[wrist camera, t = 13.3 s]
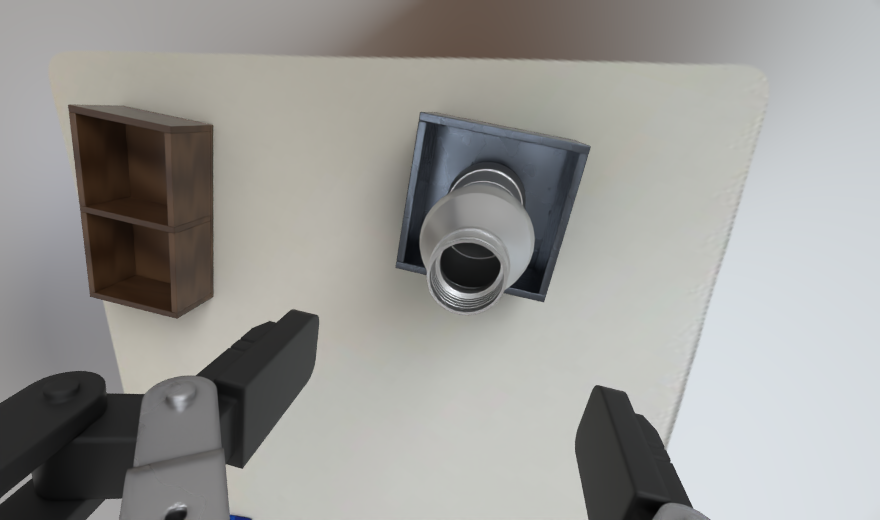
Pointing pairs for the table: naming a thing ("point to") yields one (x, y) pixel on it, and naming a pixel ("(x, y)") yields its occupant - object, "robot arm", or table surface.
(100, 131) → the divided box
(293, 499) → the table surface
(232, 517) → the ballpoint pen
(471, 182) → the silver metal bottle
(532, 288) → the dark grey open box
